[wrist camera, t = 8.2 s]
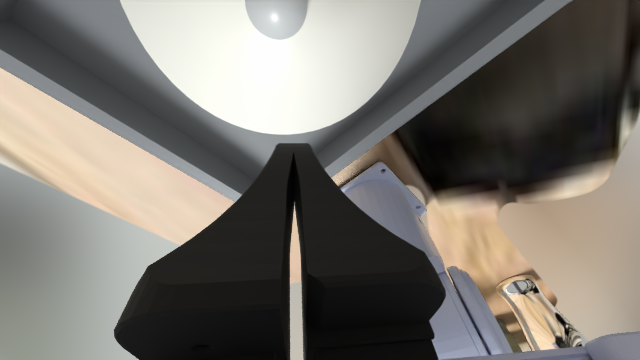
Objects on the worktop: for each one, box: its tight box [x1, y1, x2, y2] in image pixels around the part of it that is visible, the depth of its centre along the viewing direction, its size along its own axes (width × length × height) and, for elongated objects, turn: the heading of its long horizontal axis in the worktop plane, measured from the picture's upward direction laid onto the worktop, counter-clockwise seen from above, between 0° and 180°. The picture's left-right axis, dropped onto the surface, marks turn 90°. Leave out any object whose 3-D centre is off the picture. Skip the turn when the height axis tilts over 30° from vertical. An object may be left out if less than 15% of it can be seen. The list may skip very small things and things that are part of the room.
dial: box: [120, 0, 421, 135], centre depth 12 cm, size 16×15×5 cm
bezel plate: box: [0, 0, 572, 205], centre depth 13 cm, size 20×24×4 cm
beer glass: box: [496, 275, 589, 351], centre depth 37 cm, size 7×7×15 cm
